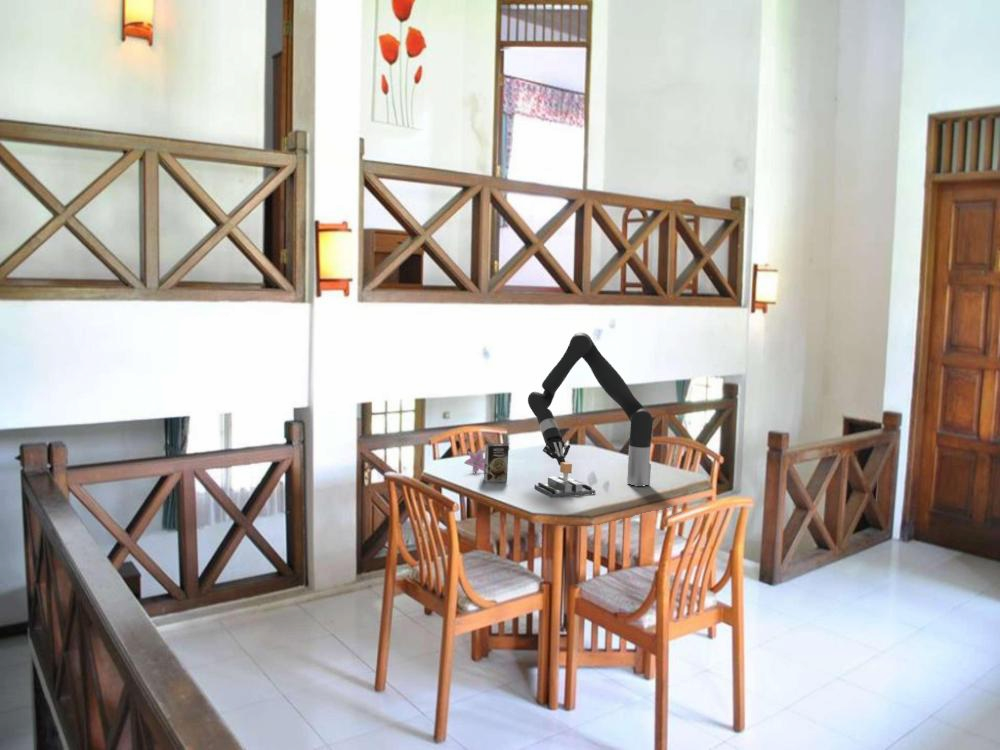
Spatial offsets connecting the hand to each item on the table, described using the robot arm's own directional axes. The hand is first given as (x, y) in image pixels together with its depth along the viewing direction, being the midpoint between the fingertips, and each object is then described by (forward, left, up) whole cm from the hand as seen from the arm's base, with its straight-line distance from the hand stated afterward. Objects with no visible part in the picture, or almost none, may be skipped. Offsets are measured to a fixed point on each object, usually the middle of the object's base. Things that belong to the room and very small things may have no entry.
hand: (563, 465), depth 346 cm
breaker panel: (-1, +2, -10) cm, 11 cm away
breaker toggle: (-1, +2, -8) cm, 9 cm away
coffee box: (+26, -15, -11) cm, 32 cm away
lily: (+33, -32, -11) cm, 47 cm away
